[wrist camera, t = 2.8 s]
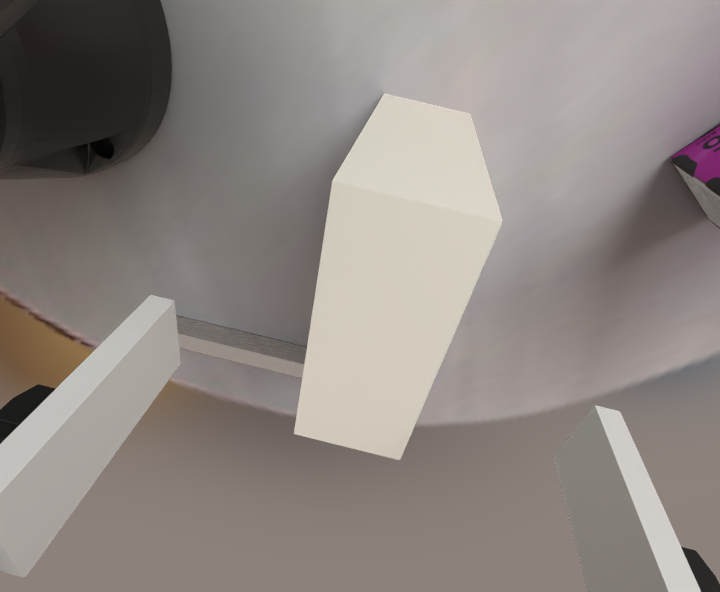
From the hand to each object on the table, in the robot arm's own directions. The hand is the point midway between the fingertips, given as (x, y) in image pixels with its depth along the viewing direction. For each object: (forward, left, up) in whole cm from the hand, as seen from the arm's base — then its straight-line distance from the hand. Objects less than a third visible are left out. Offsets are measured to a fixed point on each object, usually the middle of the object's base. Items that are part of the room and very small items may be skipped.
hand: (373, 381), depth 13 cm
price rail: (-7, -14, -14) cm, 21 cm away
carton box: (0, 0, -14) cm, 14 cm away
